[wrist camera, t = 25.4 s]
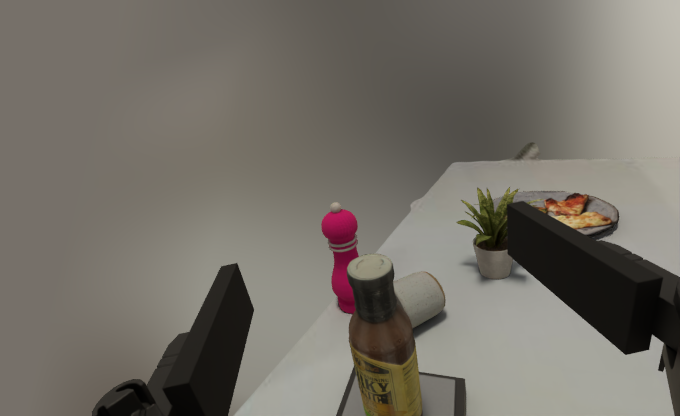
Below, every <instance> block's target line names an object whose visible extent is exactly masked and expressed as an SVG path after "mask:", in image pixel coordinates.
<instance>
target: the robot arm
mask: <svg viewBox="0 0 680 416" xmlns="http://www.w3.org/2000/svg"><path fill="white" fill-rule="evenodd" d="M507 254H508V255H509V256H510V257H512V258H513V259H514V260H515V261H516V262H517V263H519V264H520V265H521V266H522V267H523V268H524V269H526V270H527V271H528V272H529V273H530V274H531V275H533V276H534V277H535V278H536V279H537V280H539V281H540V282H541V283H542V284H543V285H544V286H546V287H547V288H548V289H549V290H550V291H551V292H553V293H554V294H555V295H556V296H557V297H558V298H560V299H561V300H562V301H563V302H564V303H565V304H567V305H568V306H569V307H570V308H571V309H573V310H574V311H575V312H576V313H577V314H578V315H580V316H581V317H582V318H583V319H584V320H585V321H587V322H588V323H589V324H590V325H591V326H592V327H594V328H595V329H596V330H597V331H598V332H599V333H601V334H602V335H603V336H604V337H605V338H606V339H608V340H609V341H610V342H611V343H612V344H614V345H615V346H616V347H617V348H618V349H619V350H621V351H622V352H623V353H624V354H625V355H627V354H632V353H636V352H641V351H645V350H649V347H650V342H651V337H652V334H653V335H654V336H655V337H657V338H658V339H659V340H661V341H662V342H664V345H663V350H662V354H661V359H660V364H659V369H658V370H659V371H662V372H663V370H664V367H665V369H666V374H667V379H668V384H669V389H670V394H671V399H672V404H673V409H674V414H675V416H680V277H678V276H676V275H674V274H673V273H671V272H669V271H667V270H665V269H663V268H661V267H659V266H657V265H655V264H653V263H651V262H649V261H648V260H646V259H645V260H643V258H642V257H640V256H638V255H636V254H632V252H630V251H628V250H626V249H624V248H622V247H621V246H619V245H616V244H612V243H609V242H605V241H602V240H601V241H596V240H594V239H592V238H590V237H588V236H586V235H585V234H583V233H581V232H579V231H577V230H575V229H574V228H572V227H570V226H568V225H566V224H564V223H562V222H561V221H559V220H557V219H555V218H553V217H551V216H550V215H548V214H546V213H544V212H542V211H540V210H539V209H537V208H535V207H533V206H531V205H529V204H527V203H526V202H524V201H520V202H515V203H510V204H507ZM253 312H254V308H253V305H252V303H251V300H250V297H249V294H248V292H247V289H246V286H245V283H244V281H243V278H242V275H241V272H240V270H239V267H238V264H237V263H236V264H231V265H226V266H222V267H221V268H220V270H219V272H218V274H217V276H216V278H215V281H214V283H213V285H212V287H211V289H210V291H209V293H208V295H207V297H206V299H205V301H204V303H203V305H202V307H201V309H200V311H199V313H198V316H197V318H196V319H195V322H194V324H193V326H192V328H191V330H190V332H187V333H182V334H179V335H178V336H177V337H176V338H175V339H174V340H173V341H172V342H171V343H170V344H169V345H168V347H167V349H166V351H165V353H164V354H163V356H162V359H161V360H160V362H159V364H158V366H157V369H155V371H154V373H153V375H152V377H151V378H150V381H149V382H148V384H147V386H146V384H145V383H144V382H143V381H142V380H140V379H133V380H129V381H126V382H124V383H122V384H120V385H118V386H116V387H114V388H113V389H112V390H110V391H109V392H108V393H107V394H105V395H104V396H103V397H102V398H101V399H100V401H99V402H98V403H97V404H96V406H95V408H94V410H93V411H92V416H228V413H229V409H230V405H231V401H232V397H233V392H234V389H235V385H236V381H237V377H238V372H239V368H240V364H241V360H242V356H243V352H244V348H245V344H246V339H247V336H248V332H249V328H250V324H251V320H252V316H253Z"/></svg>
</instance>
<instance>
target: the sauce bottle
mask: <svg viewBox="0 0 680 416" xmlns="http://www.w3.org/2000/svg"><path fill="white" fill-rule="evenodd" d="M347 278H348V282H349V284H350V286H351V287H352V290H353V296H354V301H355V303H354V305H355V309H356V310H355V312H354V314H353V316H352V317H351V320H350V324H349V342H350V347H351V352H352V357H353V361H354V367H355V371H356V376H357V380H358V385H359V389H360V393H361V398H362V402H363V407H364V411H365V414H366V416H423V412H422V397H421V389H420V380H419V371H418V363H417V355H416V346H415V340H414V337H413V329H412V324H411V320H410V318H409V316H408V314H407V313H406V312H405V311H404V310H403V308H402V307H401V306H400V305H399V304H397V299H396V296H395V292H394V285H393V279H394V269H393V264H392V261H391V260H390V259H389V258H388V257H386V256H384V255H381V254H369V255H367V254H366V255H362V256H359V257H357V258H355V259H354V260H352V261H351V262H350V263H349V265H348V267H347Z"/></svg>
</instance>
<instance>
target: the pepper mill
mask: <svg viewBox="0 0 680 416" xmlns="http://www.w3.org/2000/svg"><path fill="white" fill-rule="evenodd" d="M330 209H331V212H329V213H328V214H327V215H326V216H325V217H324V219H323V220H322V232H323V234H324V235H325V237H326V238H328V244H329V248H330V250H332V251H333V254H334V269H333V274H332V289H333V291H334V293H335V294H336V295H337V296H338V302H339V306H340V308H341V309H342V310H343V311H344V312H347V313H352V314H353V313H354V312H355V310H356V309H355V305H354V303H355V301H354V296H353V290H352V287H351V286H350V284H349V282H348V278H347V267H348V265H349V263H350V262H351V261H352V260H354V259H355V258H357V257H359V256H358V253H357V249H356V245H357V244H358V240H357V235H356V234H355V232H356V231H357V220H356V218H355V216H354V215H353V214H352V213H351V212H349V211H347V210H343V209H341V206H340V204H339V203H336V202H335V203H332V204H331V206H330Z"/></svg>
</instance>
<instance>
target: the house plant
mask: <svg viewBox="0 0 680 416" xmlns="http://www.w3.org/2000/svg"><path fill="white" fill-rule="evenodd" d="M509 192H510V187H509V188H508V190H507V191H506V193H505V194H504V196H503V198H502V199H501V201H500V203H499V205H498V207H497V209H496V211H494V203H493V201H492V198H491V196H490V192H489V190H488V189H487V198H486V197H485V196H484V194H483V193H482V191H481V190H480V189H479V188H477V193H478V199H479V204H478V205H480V213H481V214H479V213H478V212H477V210H476V209H475V208H474V207H473V206H471V205H470V204H469V203H467V202H465V201H463V200H461V201H462V202H463V203H464V204H466V205H467V207H468V208H469V209H470V210H471V211H472V212H473V214H474V215H473V216H472V215H470V214H469V213H467V212H466V213H467V214H469V215H470V216H472V218H474V217H475V216H476V218H477V220H478V221H479V222H478V221H477V220H476V219H475V218H474V219H475V220H476V221H477V222H478V223H479V224H480V226H481V227H482V229H483V231H484V233H483V232H482V231H481V230H480V229H479V227H477V226H476V225H475V224H473V223H471V222H469V221H466V220H461V221H458V222H456V223H458V224H461V225H465V226H468V227H471V228H474V229H475V230H476V231H478V232H479V233H480V234H477V235H476V237H475V238H474V240H473V246H474V250H475V253H476V257H477V261H478V265H479V269H480V272H481V274H482V275H483V276H485V277H487V278H490V279H503V278H506V277H508V276H509V275H510V271H511V266H512V262H513V258H512V257H510V256H509V255H508V254H507V204H510V203H513V199H514V196H515V194H516V193H517V192H518V189H517V190H515V191H513V192H512V193H511V194H510V195H509ZM508 195H509V196H508ZM487 199H488V200H487ZM540 200H543V199H538V200H533V201H529V202H527V204H531V203H533V202H536V201H540ZM474 205H476V204H474ZM531 206H538V205H531ZM505 217H506V218H505ZM504 218H505V219H504ZM505 229H506V230H505ZM504 230H505V231H504Z"/></svg>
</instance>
